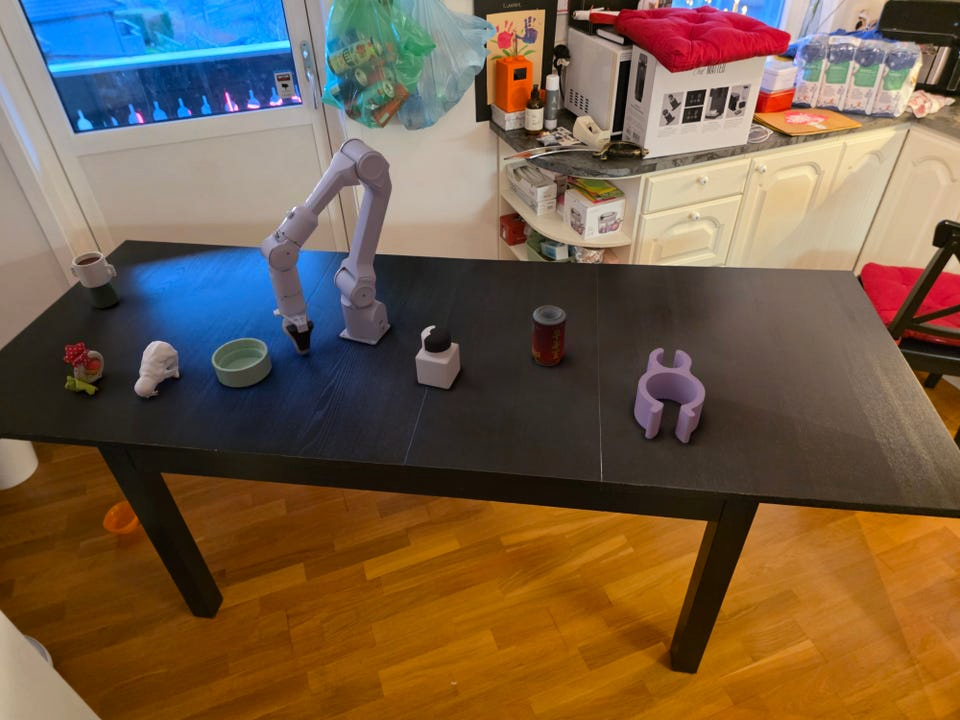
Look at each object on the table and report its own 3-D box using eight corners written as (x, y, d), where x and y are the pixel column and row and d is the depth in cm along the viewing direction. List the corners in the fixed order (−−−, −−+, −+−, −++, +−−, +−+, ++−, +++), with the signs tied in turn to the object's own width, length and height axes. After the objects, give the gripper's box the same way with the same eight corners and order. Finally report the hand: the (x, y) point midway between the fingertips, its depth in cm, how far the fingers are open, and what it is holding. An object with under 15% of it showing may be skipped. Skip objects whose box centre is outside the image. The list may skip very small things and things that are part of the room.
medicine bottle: (460, 369, 144) (458, 324, 136) (448, 390, 138) (445, 344, 131) (430, 363, 146) (426, 318, 138) (417, 383, 140) (412, 338, 133)
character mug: (134, 295, 171) (116, 251, 163) (122, 311, 165) (102, 266, 157) (93, 295, 171) (73, 251, 163) (80, 311, 166) (58, 266, 158)
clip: (635, 371, 142) (639, 345, 137) (695, 377, 140) (701, 351, 135) (633, 436, 126) (638, 410, 122) (700, 445, 124) (707, 418, 120)
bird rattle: (89, 383, 146) (57, 396, 138) (84, 335, 144) (51, 344, 135) (114, 386, 145) (84, 399, 137) (110, 338, 143) (78, 347, 134)
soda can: (547, 344, 150) (550, 299, 142) (570, 358, 146) (573, 313, 138) (524, 356, 147) (525, 311, 139) (546, 372, 142) (549, 326, 135)
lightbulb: (310, 363, 147) (301, 323, 140) (285, 360, 148) (274, 320, 141) (321, 346, 151) (312, 307, 145) (296, 344, 153) (286, 304, 146)
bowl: (282, 361, 147) (278, 344, 144) (251, 394, 139) (245, 376, 136) (240, 351, 151) (234, 333, 148) (206, 382, 143) (200, 364, 139)
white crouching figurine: (174, 338, 141) (143, 377, 132) (188, 366, 146) (159, 406, 138) (147, 335, 142) (115, 374, 133) (162, 363, 148) (132, 403, 139)
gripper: (260, 279, 143) (274, 330, 151) (278, 312, 133) (292, 364, 141) (292, 270, 145) (304, 321, 154) (312, 302, 135) (323, 354, 144)
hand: (300, 341), depth 148 cm, fingers closed on lightbulb, 6 cm apart
